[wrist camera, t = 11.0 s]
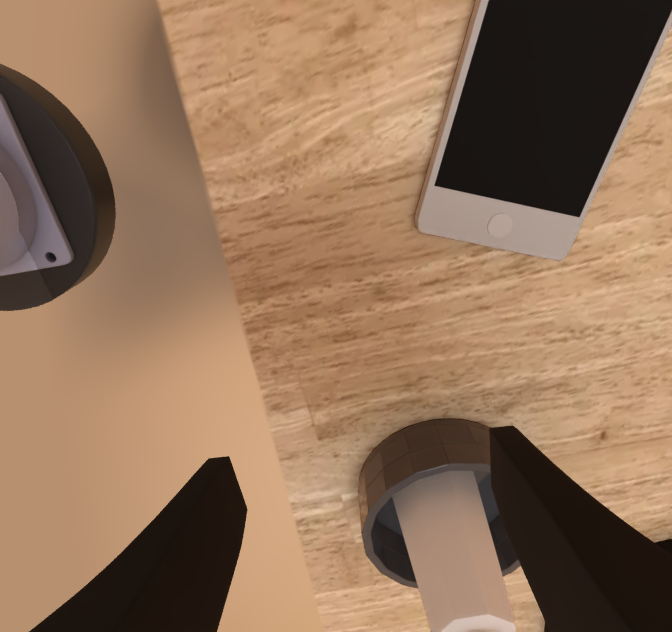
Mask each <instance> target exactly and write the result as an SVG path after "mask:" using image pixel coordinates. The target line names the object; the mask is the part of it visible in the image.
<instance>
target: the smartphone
mask: <svg viewBox="0 0 672 632" xmlns="http://www.w3.org/2000/svg"><path fill="white" fill-rule="evenodd" d="M671 26H672V0H476V2H475V5H474V9H473V12H472V16H471V19H470V23H469V26H468V30H467V33H466V37H465V41H464V44H463V48H462V51H461V55H460V58H459V62H458V65H457V69H456V72H455V76H454V79H453V83H452V86H451V90H450V93H449V97H448V101H447V104H446V108H445V111H444V115H443V118H442V122H441V125H440V129H439V132H438V136H437V139H436V143H435V146H434V150H433V154H432V157H431V161H430V164H429V168H428V171H427V175H426V178H425V182H424V185H423V189H422V192H421V196H420V199H419V203H418V207H417V210H416V214H415V225H416V228H417V229H418V230H419V231H420V232H421V233H426V234H430V235H435V236H440V237H445V238H450V239H455V240H460V241H464V242H469V243H474V244H479V245H484V246H489V247H493V248H498V249H503V250H508V251H513V252H518V253H523V254H527V255H532V256H537V257H542V258H547V259H552V260H557V261H560V260H562V259H563V258H565V257H566V255H567V254H568V253H569V251H570V249H571V247H572V245H573V243H574V240H575V238H576V236H577V234H578V232H579V229H580V227H581V225H582V223H583V221H584V218H585V216H586V214H587V212H588V210H589V207H590V205H591V203H592V201H593V198H594V196H595V194H596V192H597V190H598V187H599V185H600V183H601V181H602V179H603V176H604V174H605V172H606V170H607V167H608V165H609V163H610V161H611V159H612V156H613V154H614V152H615V150H616V148H617V145H618V143H619V141H620V139H621V136H622V134H623V132H624V130H625V128H626V125H627V123H628V121H629V119H630V117H631V114H632V112H633V110H634V108H635V106H636V103H637V101H638V99H639V97H640V94H641V92H642V90H643V88H644V86H645V83H646V81H647V79H648V77H649V75H650V72H651V70H652V68H653V66H654V63H655V61H656V59H657V57H658V55H659V52H660V50H661V48H662V46H663V44H664V41H665V39H666V37H667V35H668V33H669V30H670V28H671Z"/></svg>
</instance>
